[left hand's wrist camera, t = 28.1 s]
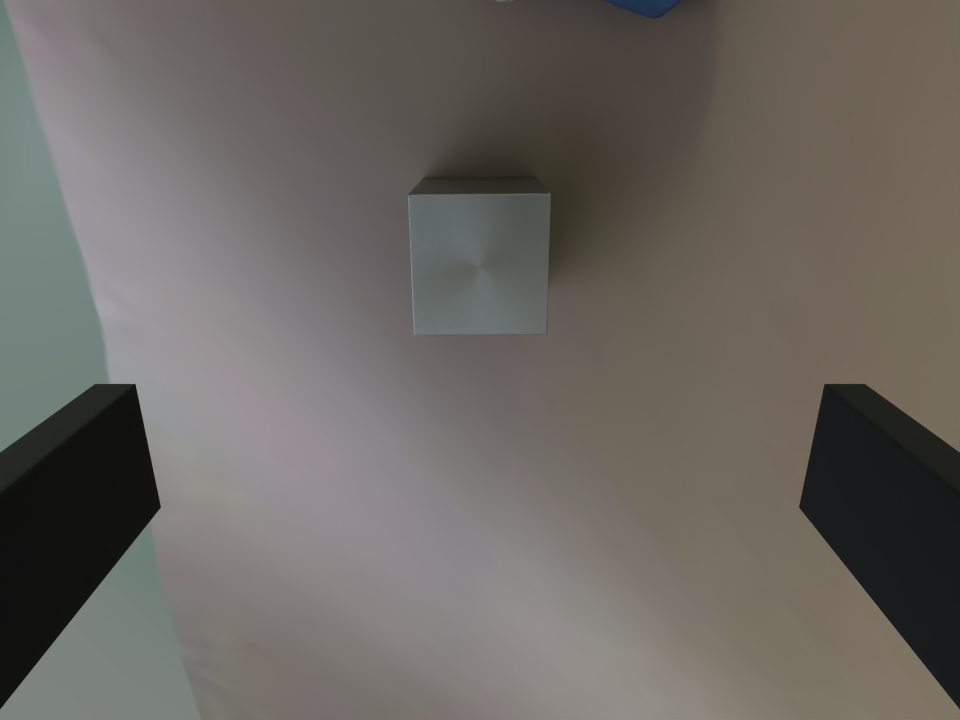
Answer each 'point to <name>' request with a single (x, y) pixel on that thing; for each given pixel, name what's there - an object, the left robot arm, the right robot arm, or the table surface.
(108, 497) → the left robot arm
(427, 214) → the grey metal block
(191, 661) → the table surface
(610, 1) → the blue toy gun
